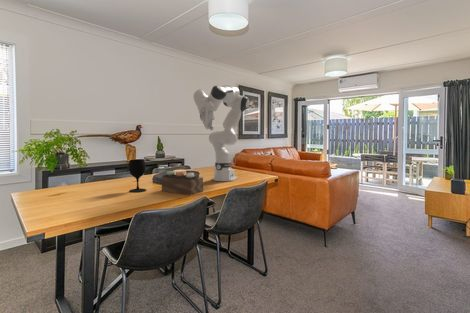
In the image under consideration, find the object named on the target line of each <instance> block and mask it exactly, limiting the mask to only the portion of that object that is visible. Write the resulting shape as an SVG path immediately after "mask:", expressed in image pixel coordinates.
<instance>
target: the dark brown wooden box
mask: <svg viewBox="0 0 470 313" xmlns="http://www.w3.org/2000/svg"><path fill="white" fill-rule="evenodd" d="M166 191H167V192H168V193H175V194H179V193H180V195H186V196H187V195H188V196H193V195H197V194H200V193H202V192H204V177H200V176H194V177H192V178H187V177H186V175H184V176H176V174H175V175H167V174H164V175H162V176H161V192H166ZM167 192H166V193H167Z"/></svg>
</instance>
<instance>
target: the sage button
mask: <svg viewBox="0 0 470 313" xmlns="http://www.w3.org/2000/svg"><path fill="white" fill-rule="evenodd" d="M166 175H176V173H175V171H174V170H167V171H166Z"/></svg>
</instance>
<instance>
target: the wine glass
mask: <svg viewBox="0 0 470 313" xmlns="http://www.w3.org/2000/svg"><path fill="white" fill-rule="evenodd" d="M146 169H147V165H146V161H145V159H143V158H141V159H139V158H137V159H130V160H129V162H128V172H129V174H130V175H131V176H132V177H133V178H135V179H136V180H135V181H136V188H132V189H129V192H130V193H133V194H134V193H143V192H146V191H147V189H146V188H140V186H139V180H140V178H141V177H143V176H144V174H145V172H146Z"/></svg>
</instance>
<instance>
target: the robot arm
mask: <svg viewBox="0 0 470 313" xmlns="http://www.w3.org/2000/svg"><path fill="white" fill-rule="evenodd" d="M210 90H211V91H210V92H209V93H208V95H207V94H206V93H205V91H204V90H203V89H198V90H196V91H194V93H193V100H194V103H195V105H196V107H197V110H198V113H199V118H200V119H199V120H200V121H201V122H202V124H203V126H204V128H205V129H206V130H210V131H213V132H210V133H209V136H208V140H209V143H210V144H211V145H212V146H213V148H214V152H215V162H214V170H213V176H212V180H213V181H216V182H233V181H235V180H237V179H239V178H238V176H236V172H235V170H234V169H233V168H232V167H231V166H232V165H233V162H230V157H231V156H230V152H229V150H227V148H226V146H233V145H236V143H237V142H238V136H237V133H236V128H237V126H238V124H239V122H240V120H241V116H242V112H245V111H246V110H247V109H248V108H249V107H250V99H249V97H247V96H245V95H240V89H239V87H236V86H230V85H213V87H212V88H211V89H210ZM221 104H223V105H224V106H225V107H229V108H231V109H230V110H229V112H227V114H226V117H225V118H224V120H223V122H222V126H223V128H224V129H223V131H222V130H221V131H218V130H217V131H216V130H215V131H214V127H213V121H214V120H215V116H214V112H216V111H217V110H218V108H219V107H220V105H221Z"/></svg>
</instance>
